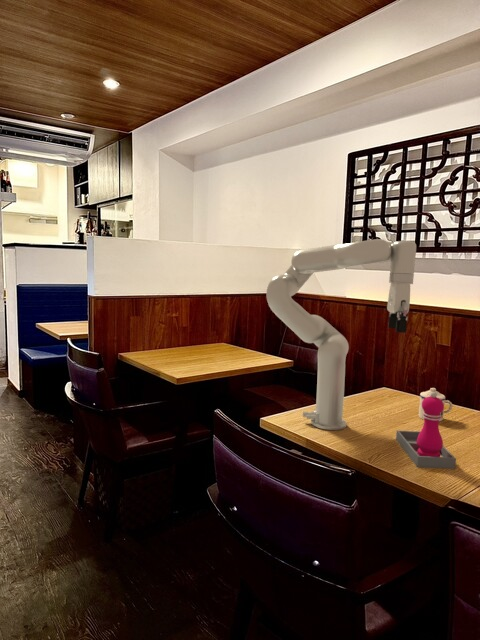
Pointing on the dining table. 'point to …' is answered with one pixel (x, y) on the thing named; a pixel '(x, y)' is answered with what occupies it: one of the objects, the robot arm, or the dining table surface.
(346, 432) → the dining table surface
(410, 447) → the tray
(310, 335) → the robot arm
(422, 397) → the teacup with lid
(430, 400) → the pepper mill
